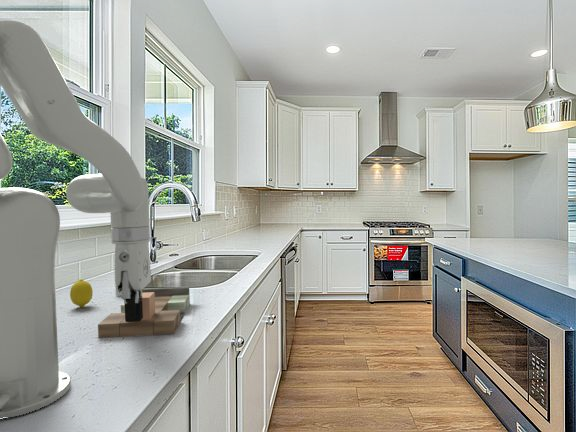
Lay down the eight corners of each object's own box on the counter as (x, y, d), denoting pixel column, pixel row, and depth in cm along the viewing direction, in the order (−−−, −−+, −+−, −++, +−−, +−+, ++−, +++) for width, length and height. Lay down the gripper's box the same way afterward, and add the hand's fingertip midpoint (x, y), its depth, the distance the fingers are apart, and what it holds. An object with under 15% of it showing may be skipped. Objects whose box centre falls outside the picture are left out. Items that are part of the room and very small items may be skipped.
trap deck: (174, 333, 81) (173, 311, 81) (98, 338, 79) (97, 315, 79) (189, 304, 105) (189, 286, 105) (131, 306, 103) (131, 289, 103)
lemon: (83, 310, 100) (82, 281, 100) (65, 309, 101) (64, 281, 101) (97, 305, 106) (96, 277, 105) (80, 304, 107) (79, 277, 107)
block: (149, 319, 82) (149, 297, 82) (126, 320, 82) (125, 298, 81) (155, 312, 87) (154, 292, 87) (133, 314, 86) (132, 293, 86)
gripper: (139, 238, 71) (142, 332, 72) (157, 231, 86) (160, 309, 86) (98, 239, 70) (102, 334, 71) (123, 232, 85) (127, 311, 86)
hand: (134, 320), depth 79 cm, fingers closed
